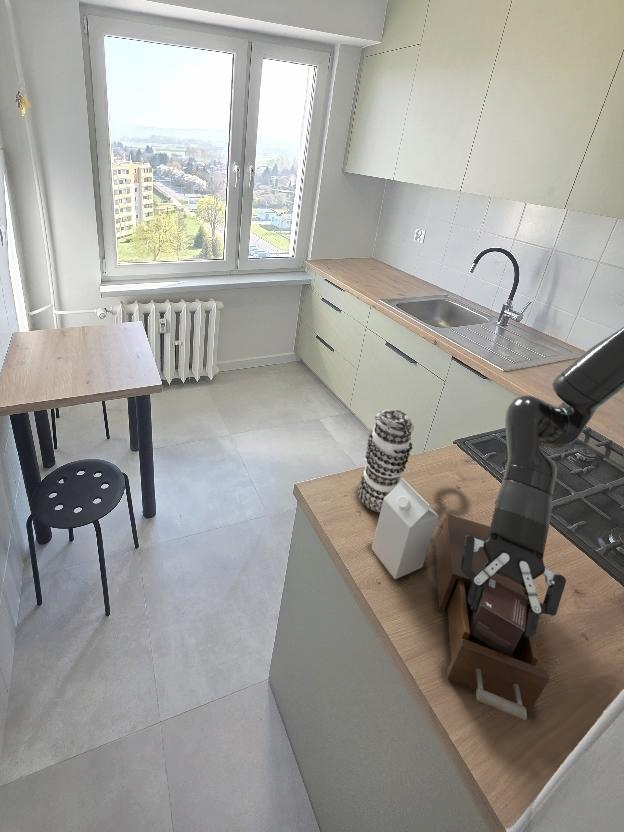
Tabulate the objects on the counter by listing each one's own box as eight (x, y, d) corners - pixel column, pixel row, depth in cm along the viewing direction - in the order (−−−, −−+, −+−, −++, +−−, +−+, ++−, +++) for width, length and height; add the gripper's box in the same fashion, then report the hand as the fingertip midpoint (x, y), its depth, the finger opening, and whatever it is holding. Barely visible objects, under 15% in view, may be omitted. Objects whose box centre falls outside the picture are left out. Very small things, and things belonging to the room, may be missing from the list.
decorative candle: (395, 492, 102) (417, 408, 92) (396, 523, 94) (420, 434, 83) (357, 482, 104) (374, 399, 94) (354, 511, 96) (373, 424, 86)
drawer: (536, 747, 59) (558, 714, 55) (449, 709, 62) (464, 676, 59) (512, 629, 73) (528, 597, 70) (442, 603, 77) (454, 571, 73)
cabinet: (516, 641, 72) (536, 602, 68) (438, 612, 76) (452, 573, 72) (502, 571, 84) (518, 535, 80) (434, 549, 88) (447, 513, 84)
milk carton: (397, 540, 90) (415, 473, 82) (421, 569, 84) (444, 500, 76) (370, 551, 87) (387, 482, 79) (394, 582, 81) (414, 511, 73)
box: (509, 660, 64) (525, 631, 61) (467, 633, 67) (479, 605, 64) (514, 626, 68) (529, 598, 65) (474, 602, 71) (486, 575, 68)
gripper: (476, 495, 69) (450, 601, 65) (583, 536, 62) (562, 658, 58) (470, 497, 75) (446, 594, 71) (566, 535, 69) (546, 645, 64)
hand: (498, 622), depth 64 cm, fingers closed on box, 6 cm apart
